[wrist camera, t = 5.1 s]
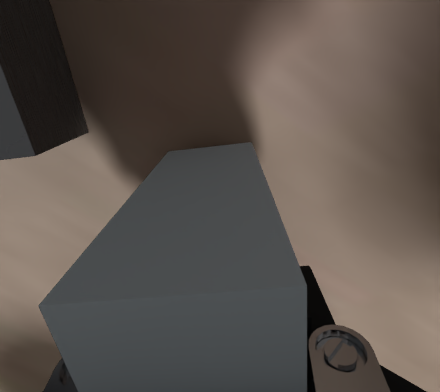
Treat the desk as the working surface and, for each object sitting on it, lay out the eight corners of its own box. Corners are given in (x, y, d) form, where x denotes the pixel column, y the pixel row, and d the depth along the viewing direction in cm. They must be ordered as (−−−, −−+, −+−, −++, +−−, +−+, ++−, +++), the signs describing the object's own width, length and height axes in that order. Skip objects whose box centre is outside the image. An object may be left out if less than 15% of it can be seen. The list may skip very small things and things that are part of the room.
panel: (251, 142, 11) (306, 285, 3) (263, 306, 14) (307, 576, 6) (168, 151, 11) (37, 306, 3) (198, 310, 14) (164, 577, 6)
